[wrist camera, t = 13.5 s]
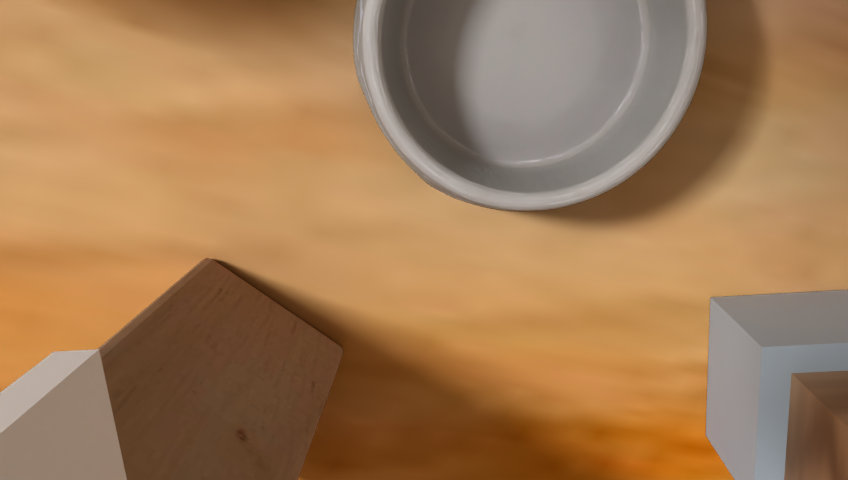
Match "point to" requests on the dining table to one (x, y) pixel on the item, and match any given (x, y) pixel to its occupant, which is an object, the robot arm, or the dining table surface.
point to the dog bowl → (528, 91)
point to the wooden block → (217, 383)
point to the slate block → (766, 371)
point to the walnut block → (817, 427)
